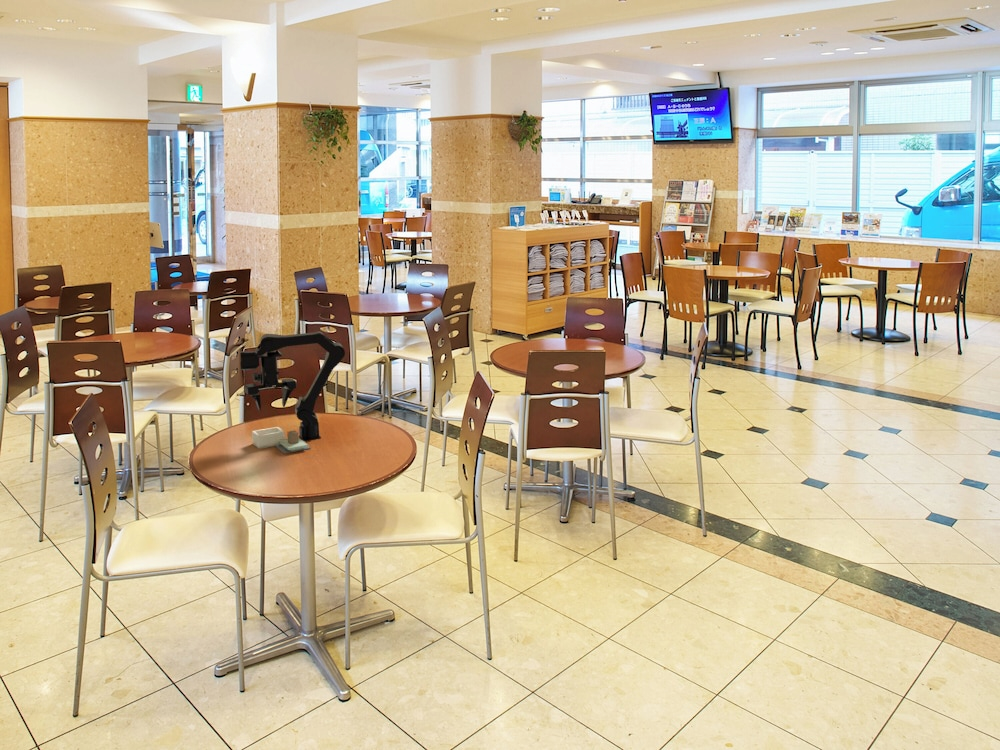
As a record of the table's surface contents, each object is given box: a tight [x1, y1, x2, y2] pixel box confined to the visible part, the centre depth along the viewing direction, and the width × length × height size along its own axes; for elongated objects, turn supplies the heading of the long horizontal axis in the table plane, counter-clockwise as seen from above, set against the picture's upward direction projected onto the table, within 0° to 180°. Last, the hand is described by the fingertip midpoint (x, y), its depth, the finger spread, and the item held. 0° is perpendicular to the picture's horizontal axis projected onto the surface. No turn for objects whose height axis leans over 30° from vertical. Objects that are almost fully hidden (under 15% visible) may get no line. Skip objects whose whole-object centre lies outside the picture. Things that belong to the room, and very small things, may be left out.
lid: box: [279, 430, 309, 451], centre depth 321 cm, size 10×7×6 cm
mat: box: [275, 445, 311, 455], centre depth 322 cm, size 10×8×1 cm
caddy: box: [251, 426, 286, 450], centre depth 326 cm, size 10×7×5 cm
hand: (271, 408), depth 328 cm, fingers open, 9 cm apart
